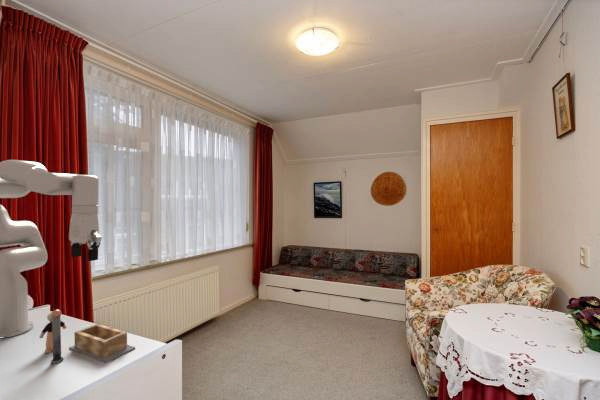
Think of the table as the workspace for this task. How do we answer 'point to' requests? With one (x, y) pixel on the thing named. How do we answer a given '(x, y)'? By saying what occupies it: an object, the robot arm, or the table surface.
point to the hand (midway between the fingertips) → (84, 258)
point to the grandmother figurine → (50, 334)
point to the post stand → (56, 337)
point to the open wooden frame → (100, 340)
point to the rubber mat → (106, 359)
